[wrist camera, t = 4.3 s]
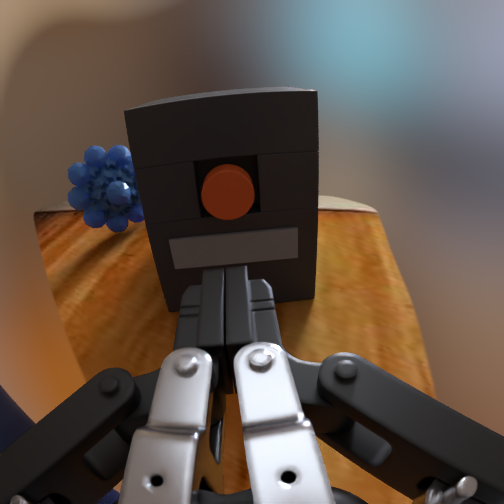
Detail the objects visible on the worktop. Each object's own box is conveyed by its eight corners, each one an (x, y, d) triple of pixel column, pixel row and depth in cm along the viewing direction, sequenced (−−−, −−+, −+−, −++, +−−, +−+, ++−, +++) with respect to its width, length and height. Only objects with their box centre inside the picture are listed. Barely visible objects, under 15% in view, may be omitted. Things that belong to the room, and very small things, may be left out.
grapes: (91, 261, 33) (62, 161, 27) (79, 242, 38) (54, 156, 32) (174, 224, 40) (158, 131, 33) (152, 211, 44) (137, 130, 38)
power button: (204, 222, 20) (197, 173, 18) (206, 212, 21) (200, 166, 19) (256, 217, 20) (252, 168, 18) (254, 208, 21) (251, 161, 19)
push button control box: (168, 314, 25) (122, 111, 17) (182, 249, 34) (157, 99, 26) (315, 300, 25) (318, 90, 17) (293, 238, 34) (288, 86, 26)
